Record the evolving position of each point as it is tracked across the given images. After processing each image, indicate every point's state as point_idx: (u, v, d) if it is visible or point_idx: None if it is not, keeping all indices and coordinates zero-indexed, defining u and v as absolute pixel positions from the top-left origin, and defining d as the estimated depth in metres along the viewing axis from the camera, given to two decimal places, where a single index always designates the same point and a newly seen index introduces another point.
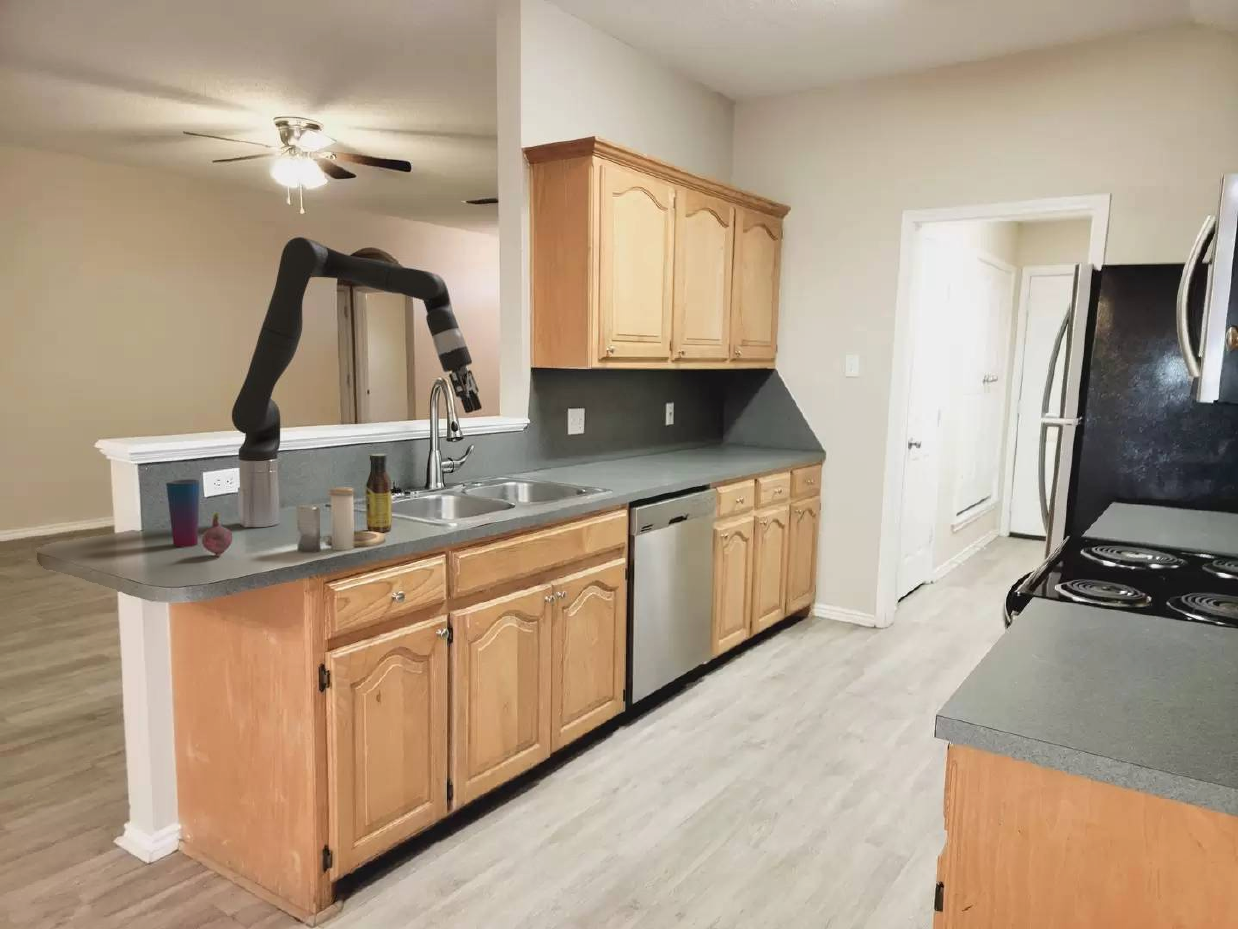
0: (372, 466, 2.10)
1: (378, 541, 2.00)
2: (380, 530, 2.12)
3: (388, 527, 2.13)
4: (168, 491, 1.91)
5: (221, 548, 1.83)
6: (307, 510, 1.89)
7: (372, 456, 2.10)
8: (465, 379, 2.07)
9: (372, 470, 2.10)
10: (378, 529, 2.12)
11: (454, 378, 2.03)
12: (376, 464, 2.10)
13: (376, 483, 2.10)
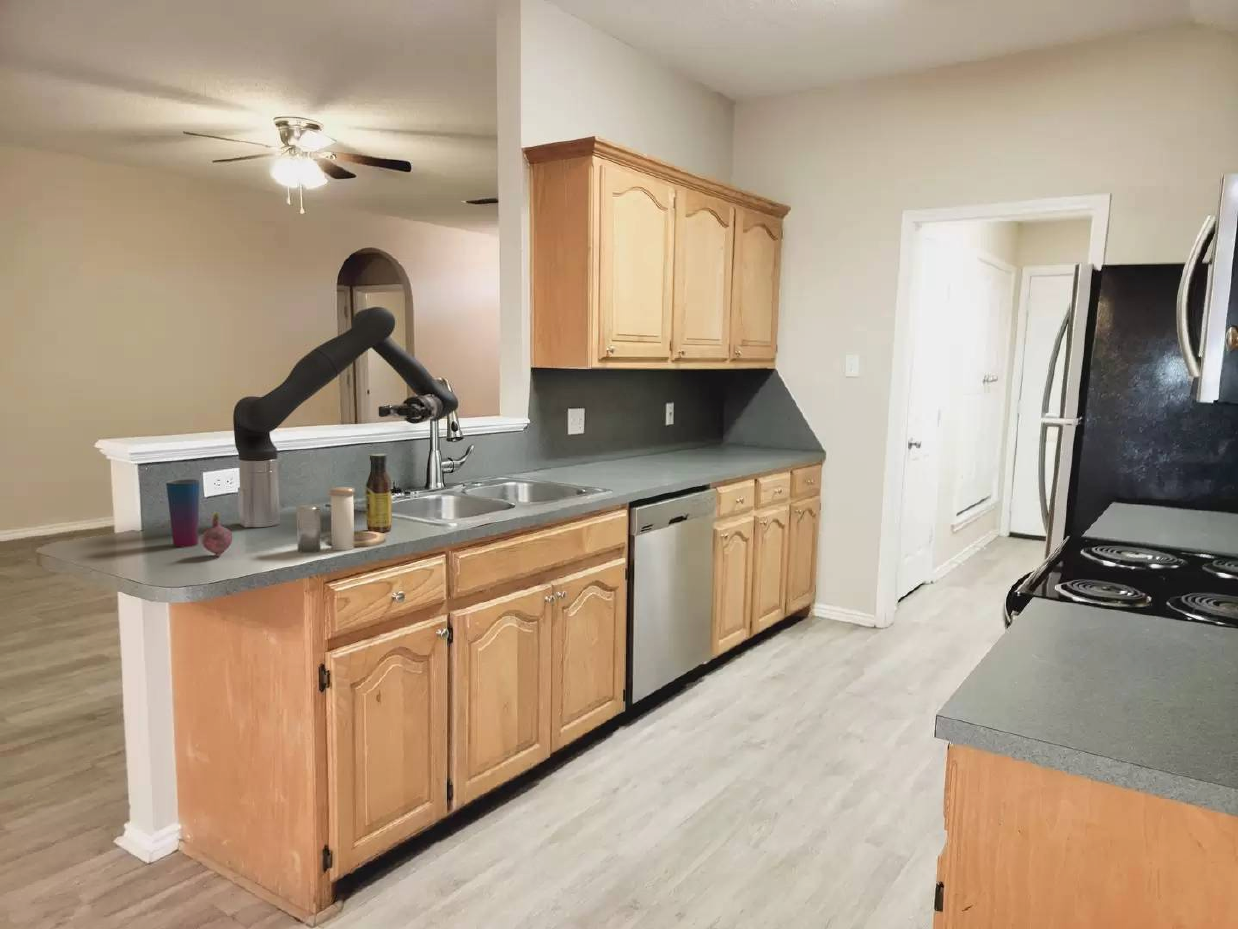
0: (372, 466, 2.10)
1: (378, 541, 2.00)
2: (380, 530, 2.12)
3: (388, 527, 2.13)
4: (168, 491, 1.91)
5: (221, 548, 1.83)
6: (307, 510, 1.89)
7: (372, 456, 2.10)
8: None
9: (372, 470, 2.10)
10: (378, 529, 2.12)
11: (433, 411, 2.29)
12: (376, 464, 2.10)
13: (376, 483, 2.10)
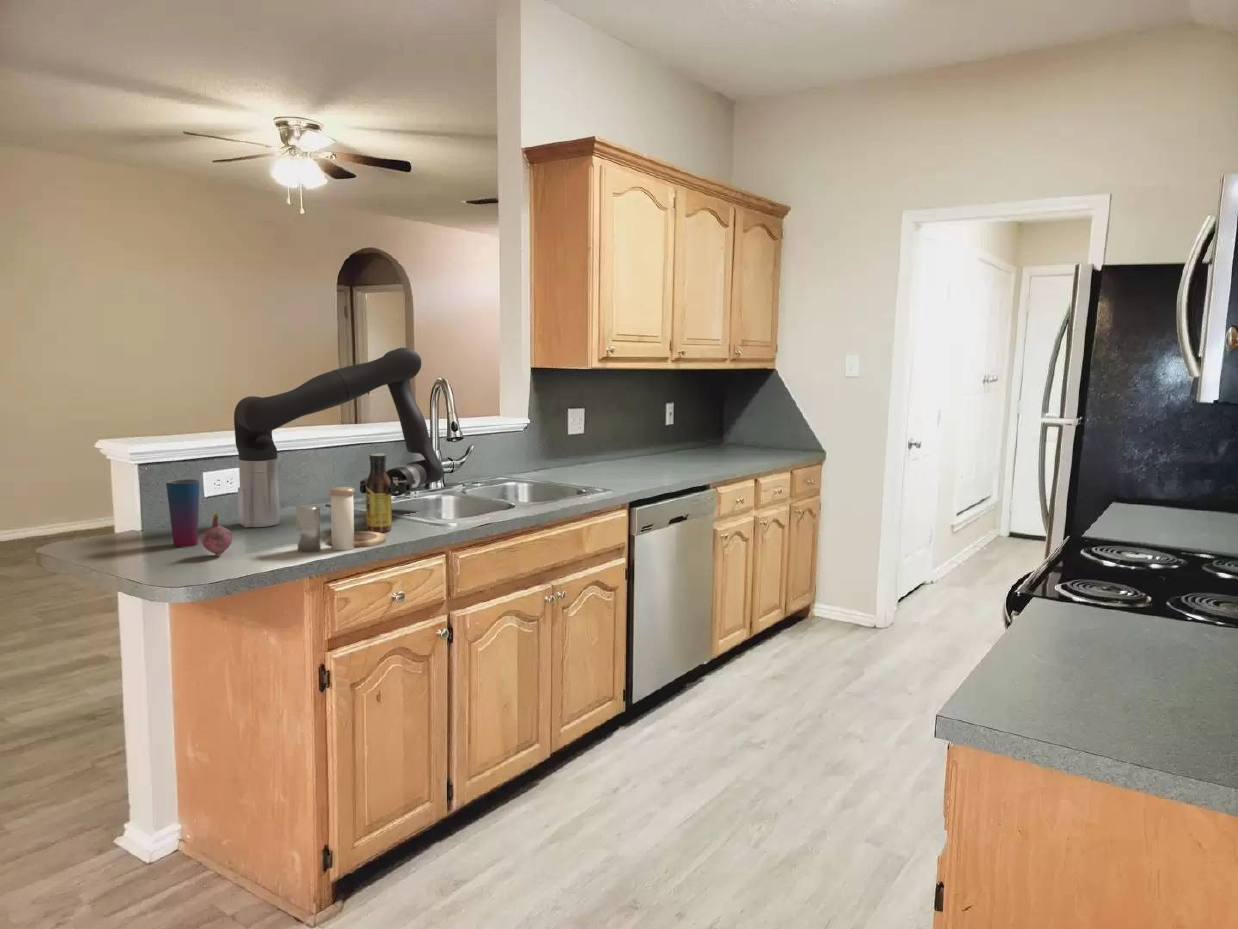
0: (372, 466, 2.10)
1: (378, 541, 2.00)
2: (380, 530, 2.12)
3: (388, 527, 2.13)
4: (168, 491, 1.91)
5: (221, 548, 1.83)
6: (307, 510, 1.89)
7: (372, 456, 2.10)
8: None
9: (372, 470, 2.10)
10: (378, 529, 2.12)
11: (413, 485, 2.18)
12: (376, 463, 2.10)
13: (376, 483, 2.10)
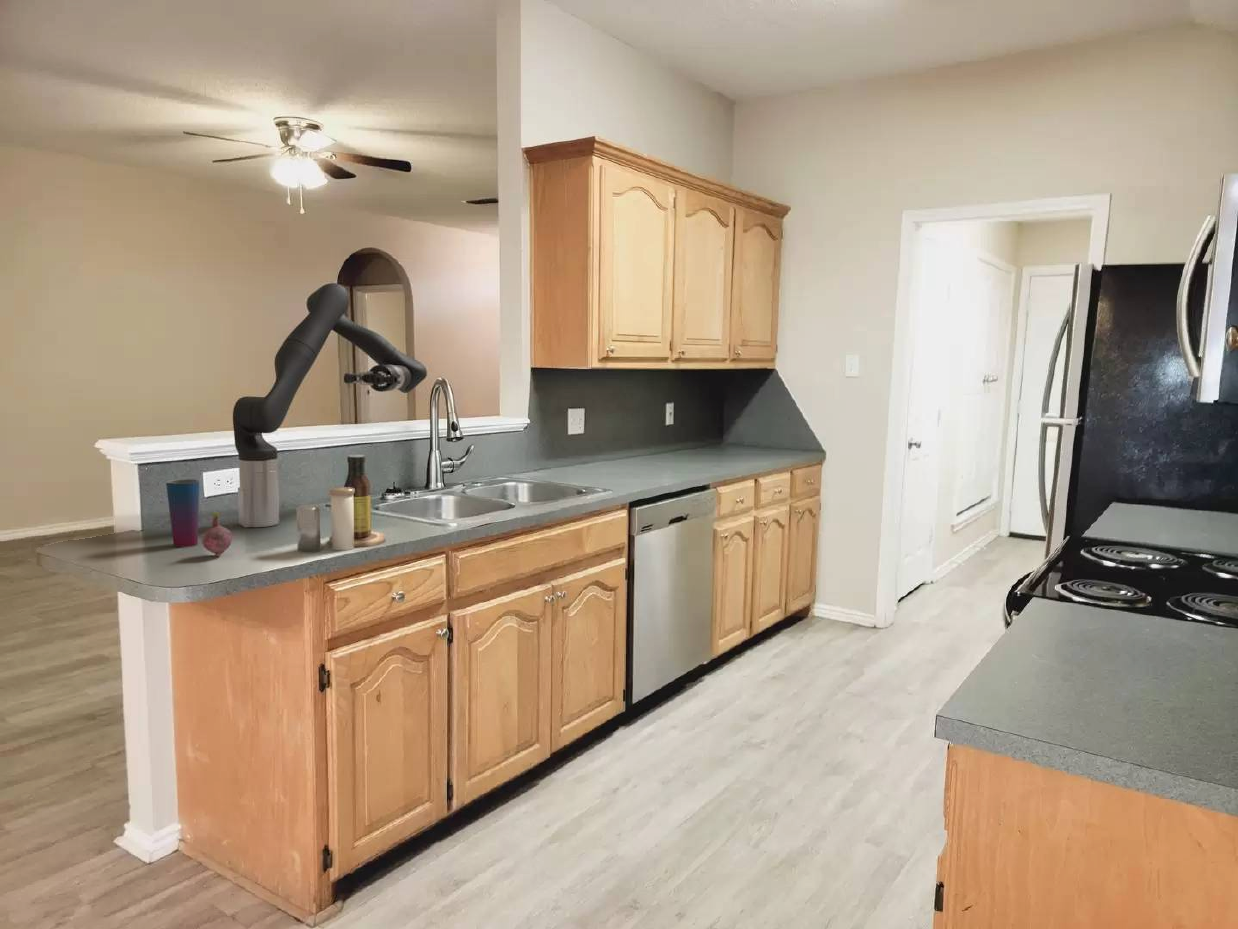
0: (350, 468, 1.99)
1: (378, 541, 2.00)
2: (358, 536, 2.00)
3: (367, 532, 2.02)
4: (168, 491, 1.91)
5: (221, 548, 1.83)
6: (307, 510, 1.89)
7: (350, 457, 1.98)
8: None
9: (350, 472, 1.99)
10: (356, 534, 2.00)
11: (399, 379, 2.30)
12: (354, 465, 1.98)
13: (354, 486, 1.98)
